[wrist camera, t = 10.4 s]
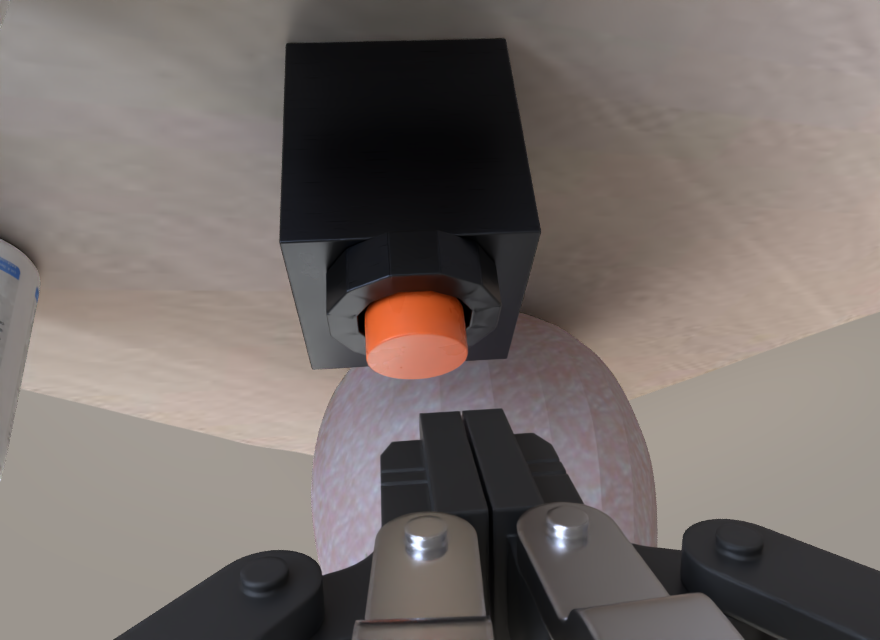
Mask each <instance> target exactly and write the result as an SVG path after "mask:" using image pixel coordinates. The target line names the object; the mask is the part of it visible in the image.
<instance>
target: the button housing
mask: <svg viewBox="0 0 880 640" xmlns="http://www.w3.org/2000/svg"><path fill="white" fill-rule="evenodd" d="M540 234H541V228H540V222H539V217H538V211H537V206H536V201H535V195H534V190H533V184H532V179H531V174H530V168H529V163H528V157H527V152H526V146H525V141H524V136H523V130H522V125H521V119H520V114H519V109H518V103H517V98H516V92H515V87H514V81H513V76H512V71H511V65H510V60H509V54H508V49H507V43H506V39H470V40H425V41H380V42H336V43H291V44H286V53H285V84H284V115H283V145H282V176H281V207H280V238H279V243H280V247H281V251H282V255H283V258H284V262H285V266H286V270H287V274H288V278H289V282H290V286H291V290H292V293H293V297H294V301H295V305H296V309H297V313H298V317H299V321H300V325H301V328H302V332H303V336H304V340H305V344H306V348H307V352H308V356H309V360H310V363H311V367H312V369H313V370H315V369H333V368H351V367H369V365H368V364H367V361H366V343H365V311H366V309H367V307H368V306H369V305H370V303H372V302H373V301H376V300H379V299H382V298H384V297H387V296H390V295H393V294H396V293H399V292H418V291H433V292H437V293H441V294H445V295H449V296H452V297H456V298H457V299H458V300H459V301H460V302H461V304H462V306H463V310H464V319H465V328H466V337H467V346H468V355H467V358H466V360H465V361H477V360H495V359H507V357H508V353H509V350H510V346H511V342H512V338H513V335H514V331H515V327H516V323H517V320H518V316H519V312H520V308H521V305H522V301H523V297H524V294H525V290H526V286H527V282H528V279H529V275H530V271H531V267H532V264H533V260H534V256H535V252H536V249H537V245H538V241H539V237H540Z"/></svg>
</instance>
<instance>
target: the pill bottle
mask: <svg viewBox="0 0 880 640" xmlns="http://www.w3.org/2000/svg"><path fill="white" fill-rule="evenodd" d="M9 3H10V0H0V29H1V27H2V24H3V21H4V18H5V15H6V12H7V9H8V6H9Z"/></svg>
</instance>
